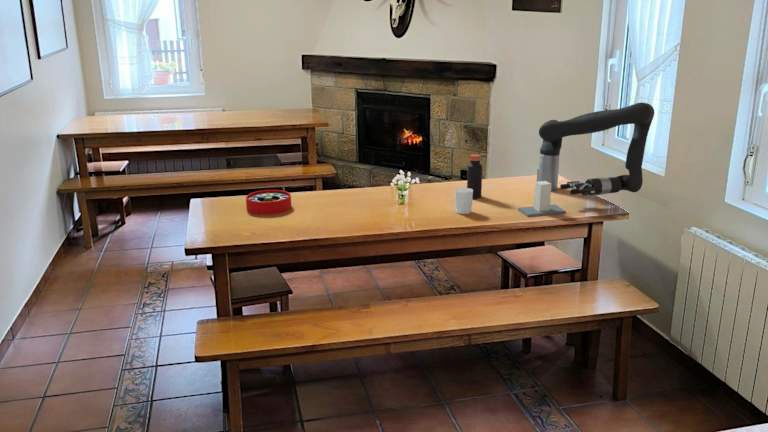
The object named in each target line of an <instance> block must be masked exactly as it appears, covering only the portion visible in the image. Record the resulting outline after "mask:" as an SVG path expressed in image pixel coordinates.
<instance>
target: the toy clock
mask: <svg viewBox="0 0 768 432" xmlns="http://www.w3.org/2000/svg"><path fill="white" fill-rule="evenodd" d="M245 203H246V211H247V212H249V213H250V212H251V213H250V214H253V213H255V214H254V215H261V214H269V215H277V213H278V214H282V213H285V212H288V211H289V210H291V209H292V196H291V193H290V192H288V191H286V190H279V189H265V190H257V191H253V192H250V193H249V194H247V195H246V196H245Z"/></svg>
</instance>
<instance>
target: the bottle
mask: <svg viewBox="0 0 768 432" xmlns="http://www.w3.org/2000/svg"><path fill="white" fill-rule="evenodd" d="M481 159H482V158H481V154H477V153H473V154H472V153H471V154H470V155H469V161H470V163H469V164H468V165H467V170H466V171H467V172H466V173H467V175H466V176H467V178H466V179H467V180H466V188H470V189H472V190H473V198H472V200H473V199H480V198H482V188H483V187H482V186H483V185H482V184H483V165H482V163H481Z"/></svg>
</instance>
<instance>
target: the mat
mask: <svg viewBox="0 0 768 432" xmlns="http://www.w3.org/2000/svg"><path fill="white" fill-rule="evenodd" d="M517 211H519V212H520V213H521V212H522V213H521V214H523V215H524V214H525V216H526V217H530V218H531V217H538V216H549V215H550V216H551V215H558V214H559V215H560V214H567V211H566V210H565V209H563V208H562V207H560V206H559V205H557V204H550V210H549V211H538V210H536V209H534V205H533V206H524V207H523V206H522V207H517Z"/></svg>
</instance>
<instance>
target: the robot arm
mask: <svg viewBox="0 0 768 432" xmlns="http://www.w3.org/2000/svg"><path fill="white" fill-rule="evenodd" d="M654 116H655V108H654V106H653V105H651V104H650V103H647V102H637V103H634V104H631V105H627V106H625V107H621V108H617V109H606V110H605V109H603V110H598V111H594V112H588V113H584V114H582V115H581V114H580V115H578V116H575V117H572V118H570V119H567V120H560V121H559V120H556V119H550V120H548V121H546V122H543V124H541V126H540V127H539V129H538V135H539V137H540V138H541V139H542V143H541V146H540V149H539V163H538V168H537V172H536V182H540V181H547V182H549V183H551V191H556V190H557V189H558V183H559V171H560V170H559V169H560V167H559V166H560V155H561V149H562V146H563V145H562V144H563V138H566V137H570V136H579V135H588V134H594V133H600V132H604V131H608V130H610V129H613V128H616V127H619V126H624V125H633V124H634V126H633V127H634V128H633V132H632V133H633V134H632V137H631V140H630V143H629V145H628V149H627V152H626V159H625V164H624V166H625V169H626V170H627V171H628V174H621V175H618V176H615V177H614V176H613V177H595V178H588V179H586V181H585V182H583V181H582V182H580V181H579V180H578V181H577V180H574V181H567V182H566V183H563V184H562V183H561V184H560V187H559V189H560V190H569V195H581V196H591V197H592V196H601V195H608V194H615V193H618V192H620V191H627V192H630V193H631V192H632V193H638V192H639V191H640V190H641V188H642V186H643V183H644V181H643V169H642V167H643V162H644V156H645V149H646V143H647V139H648V135H649V131H650V128H651V125H652V122H653V118H654Z"/></svg>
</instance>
